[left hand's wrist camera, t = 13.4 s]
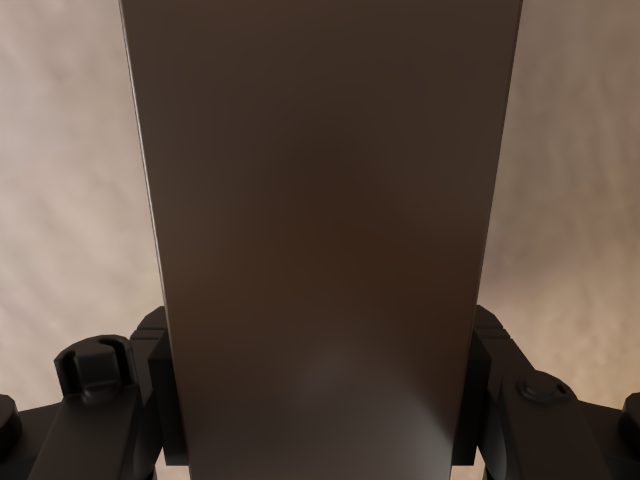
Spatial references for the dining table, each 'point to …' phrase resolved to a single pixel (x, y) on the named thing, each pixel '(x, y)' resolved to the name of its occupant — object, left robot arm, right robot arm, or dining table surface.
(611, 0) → the dining table surface
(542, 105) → the dining table surface
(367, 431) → the beam
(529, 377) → the left robot arm
